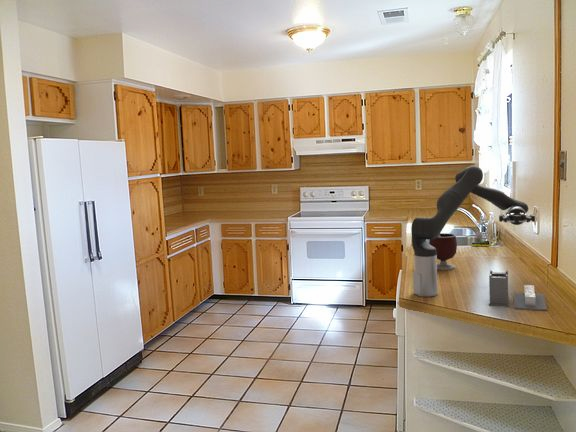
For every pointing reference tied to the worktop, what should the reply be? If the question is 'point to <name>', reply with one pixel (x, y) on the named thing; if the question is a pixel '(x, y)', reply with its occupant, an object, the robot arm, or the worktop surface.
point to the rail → (529, 295)
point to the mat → (520, 304)
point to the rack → (498, 289)
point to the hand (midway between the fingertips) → (516, 220)
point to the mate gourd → (445, 249)
